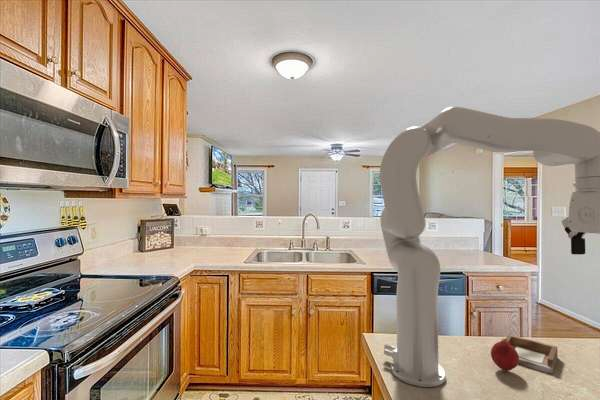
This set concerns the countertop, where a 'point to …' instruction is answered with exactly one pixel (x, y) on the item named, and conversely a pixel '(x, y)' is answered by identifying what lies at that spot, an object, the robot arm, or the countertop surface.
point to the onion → (504, 355)
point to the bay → (534, 353)
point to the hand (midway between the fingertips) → (598, 257)
